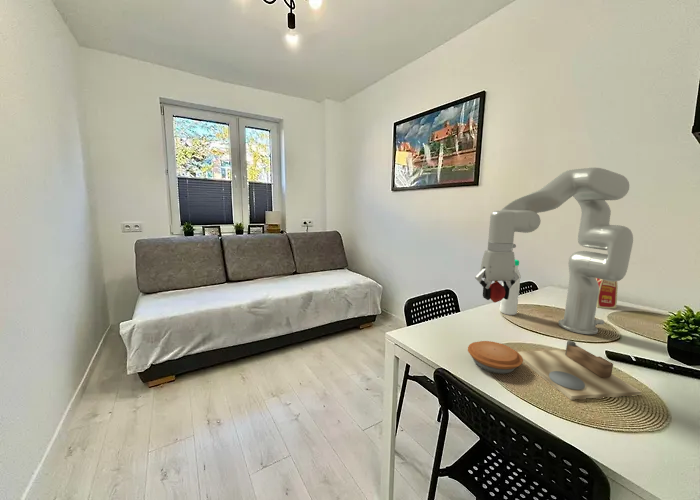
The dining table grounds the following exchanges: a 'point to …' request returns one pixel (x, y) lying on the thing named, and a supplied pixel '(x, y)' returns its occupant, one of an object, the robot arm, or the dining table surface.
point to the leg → (588, 360)
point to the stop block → (608, 362)
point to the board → (593, 383)
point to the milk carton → (607, 294)
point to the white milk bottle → (511, 296)
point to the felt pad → (566, 380)
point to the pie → (494, 356)
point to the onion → (496, 292)
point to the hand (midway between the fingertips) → (495, 298)
